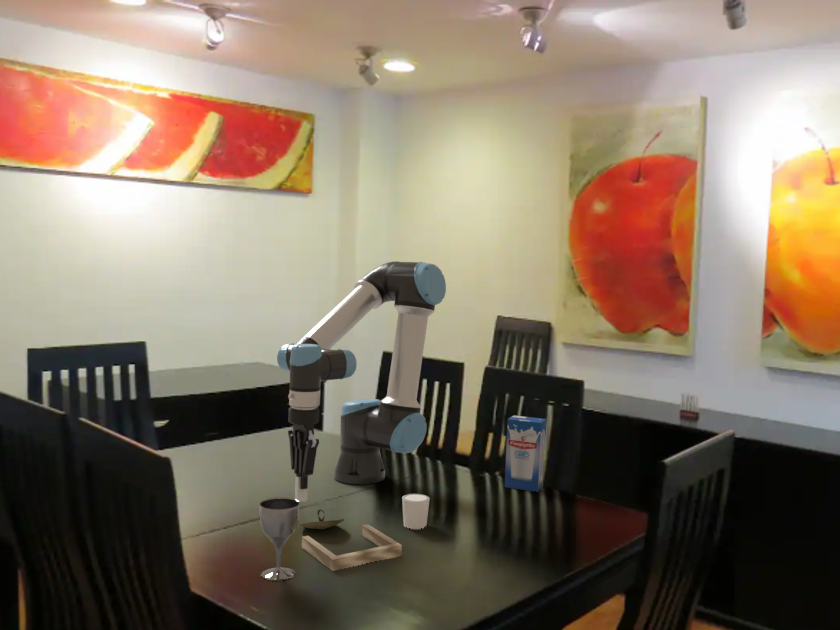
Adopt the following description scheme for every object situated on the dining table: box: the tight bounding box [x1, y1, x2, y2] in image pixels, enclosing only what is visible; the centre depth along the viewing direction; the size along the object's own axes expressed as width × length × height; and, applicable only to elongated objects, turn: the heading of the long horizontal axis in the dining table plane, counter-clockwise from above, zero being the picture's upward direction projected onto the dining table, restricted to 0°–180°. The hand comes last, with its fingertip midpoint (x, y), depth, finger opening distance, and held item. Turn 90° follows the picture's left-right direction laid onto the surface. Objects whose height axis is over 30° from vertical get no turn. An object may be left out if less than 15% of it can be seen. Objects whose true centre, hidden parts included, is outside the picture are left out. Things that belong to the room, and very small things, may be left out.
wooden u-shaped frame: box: [301, 523, 403, 572], centre depth 175 cm, size 17×15×2 cm
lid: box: [299, 508, 345, 530], centre depth 187 cm, size 11×10×5 cm
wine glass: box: [259, 496, 300, 581], centre depth 161 cm, size 8×8×15 cm
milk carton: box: [504, 415, 547, 493], centre depth 228 cm, size 10×6×20 cm, turn 68°
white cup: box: [401, 493, 431, 530], centre depth 193 cm, size 7×7×7 cm
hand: (300, 500), depth 195 cm, fingers closed
